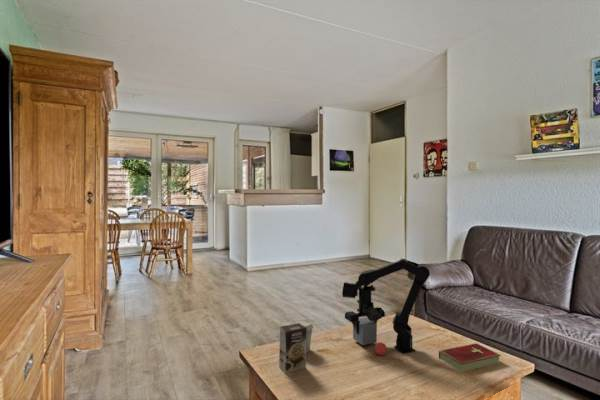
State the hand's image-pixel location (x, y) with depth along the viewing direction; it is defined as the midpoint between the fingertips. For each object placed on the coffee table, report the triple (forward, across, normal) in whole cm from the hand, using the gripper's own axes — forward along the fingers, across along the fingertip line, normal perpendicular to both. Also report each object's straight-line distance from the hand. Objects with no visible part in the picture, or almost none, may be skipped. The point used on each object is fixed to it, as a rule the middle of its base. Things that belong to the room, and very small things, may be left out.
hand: (364, 332), depth 154 cm
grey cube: (+4, 0, 0) cm, 4 cm away
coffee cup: (+5, -29, +5) cm, 30 cm away
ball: (+2, 0, -12) cm, 12 cm away
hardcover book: (+6, +31, -30) cm, 44 cm away
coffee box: (+5, -39, -7) cm, 40 cm away
